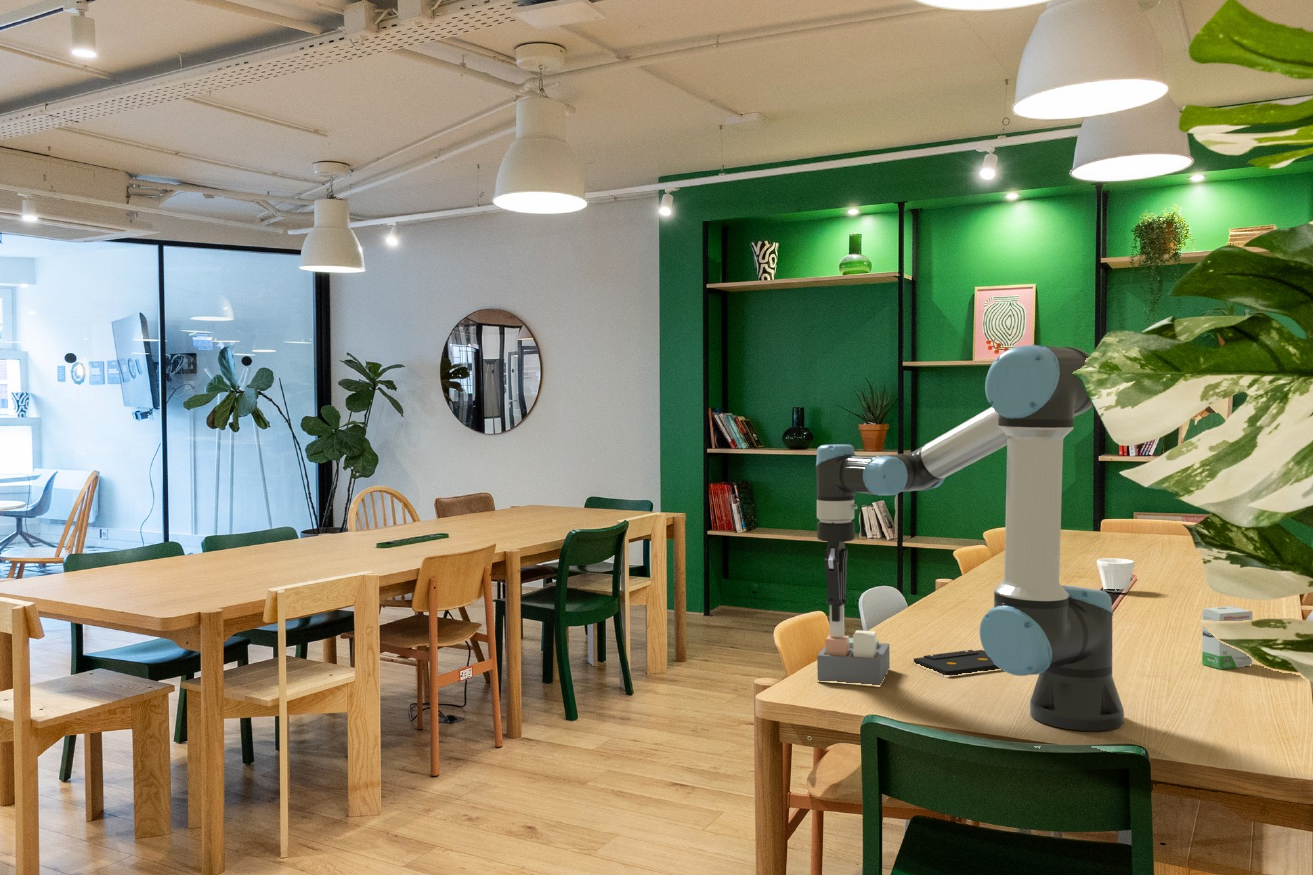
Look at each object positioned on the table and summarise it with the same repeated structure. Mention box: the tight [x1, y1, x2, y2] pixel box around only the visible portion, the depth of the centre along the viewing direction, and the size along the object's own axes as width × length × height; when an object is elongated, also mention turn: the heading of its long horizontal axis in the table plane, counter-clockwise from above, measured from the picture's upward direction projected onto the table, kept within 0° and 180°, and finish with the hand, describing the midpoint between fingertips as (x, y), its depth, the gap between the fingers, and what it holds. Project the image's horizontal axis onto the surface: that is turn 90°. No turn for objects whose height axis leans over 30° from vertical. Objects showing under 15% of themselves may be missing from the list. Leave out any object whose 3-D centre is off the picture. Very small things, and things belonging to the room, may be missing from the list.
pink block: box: [825, 634, 850, 656], centre depth 199 cm, size 4×4×6 cm
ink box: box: [1201, 605, 1253, 670], centre depth 204 cm, size 9×5×12 cm, turn 105°
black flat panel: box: [913, 649, 1000, 675], centre depth 207 cm, size 18×12×2 cm, turn 111°
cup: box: [1096, 557, 1135, 594], centre depth 286 cm, size 10×10×9 cm
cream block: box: [852, 629, 877, 658], centre depth 197 cm, size 4×4×6 cm
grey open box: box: [816, 637, 891, 685], centre depth 201 cm, size 14×12×6 cm
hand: (837, 636), depth 199 cm, fingers closed
